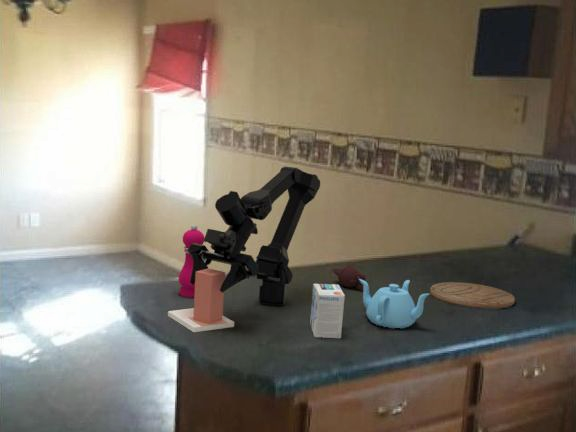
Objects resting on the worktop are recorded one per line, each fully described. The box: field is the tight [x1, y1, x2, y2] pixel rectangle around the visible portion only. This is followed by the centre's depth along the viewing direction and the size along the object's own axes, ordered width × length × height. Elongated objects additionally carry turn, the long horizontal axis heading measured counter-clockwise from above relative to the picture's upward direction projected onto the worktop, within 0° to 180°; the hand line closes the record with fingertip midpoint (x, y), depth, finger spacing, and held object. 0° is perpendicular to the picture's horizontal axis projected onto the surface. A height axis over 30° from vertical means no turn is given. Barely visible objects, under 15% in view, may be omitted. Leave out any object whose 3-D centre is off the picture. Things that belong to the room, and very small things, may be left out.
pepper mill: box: [178, 223, 205, 298], centre depth 202 cm, size 7×7×20 cm
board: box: [167, 307, 235, 333], centre depth 180 cm, size 14×11×1 cm
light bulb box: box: [309, 283, 346, 339], centre depth 179 cm, size 11×7×11 cm, turn 5°
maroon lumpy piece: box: [331, 265, 367, 292], centre depth 224 cm, size 7×7×15 cm
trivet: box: [429, 281, 516, 308], centre depth 222 cm, size 25×25×2 cm
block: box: [193, 267, 226, 324], centre depth 176 cm, size 5×5×12 cm
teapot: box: [359, 279, 431, 329], centre depth 190 cm, size 15×15×10 cm
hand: (205, 287), depth 175 cm, fingers open, 9 cm apart
